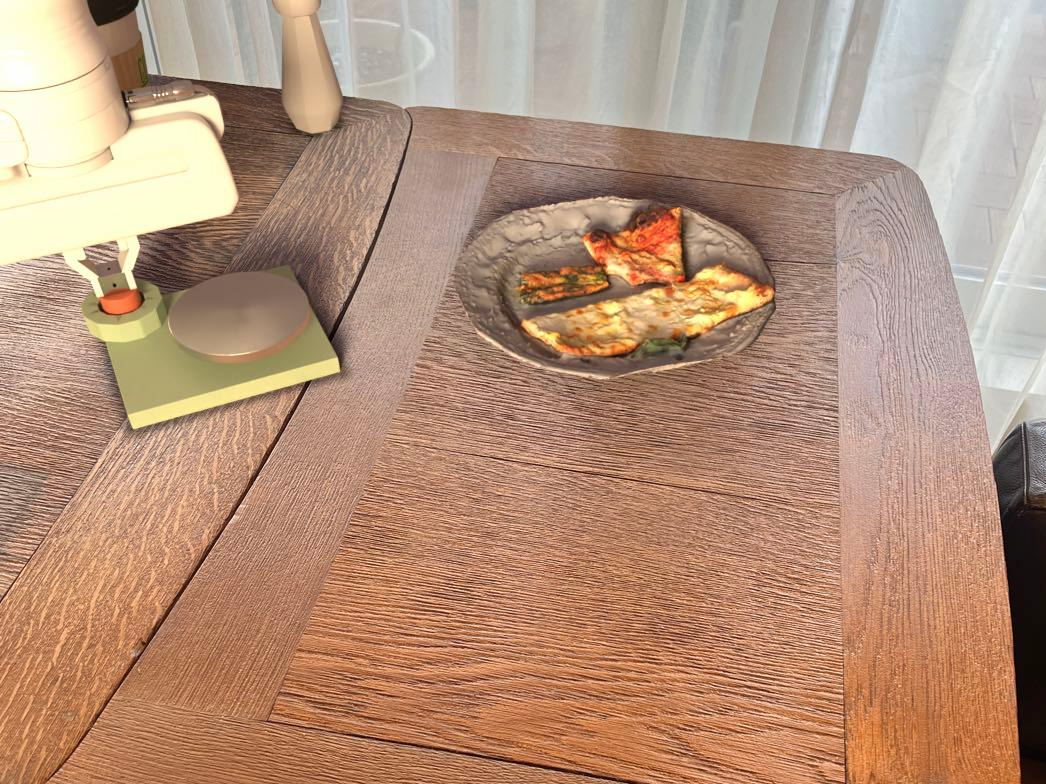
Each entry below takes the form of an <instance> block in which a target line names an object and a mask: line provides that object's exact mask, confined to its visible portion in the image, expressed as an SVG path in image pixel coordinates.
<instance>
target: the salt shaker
mask: <svg viewBox="0 0 1046 784" xmlns="http://www.w3.org/2000/svg"><path fill="white" fill-rule="evenodd" d="M271 3H272V6H273V8H274V10H275V12H276V13H277V14H279V15H282V24H281V25H282V26H281V27H282V28H281V29H282V31H281V33H282V35H281V103H282V106H283V108H284V111H285V113H286V114H287V116H288V117H289V119H290V121H291V122H292V123H293V125H294V127H295V128H296V129H297V130H299V131H302V132H305V133H308V134H311V135H312V134H319V133H323V132H330V131H331V130H332V129H333V128H334V127H336V125H337V124H338V122H339V119H340V115H341V112H342V108H343V105H344V95H343V92H342V89H341V86H340V82H339V80H338V75H337V73H336V70H335V67H334V64H333V61H332V58H331V54H330V51H329V48H328V44H327V42H326V39H325V35H324V33H323V29H322V26H321V22H320V19H319V16H318V11H319V10H320V8H321V6H322V0H271Z"/></svg>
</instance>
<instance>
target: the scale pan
mask: <svg viewBox="0 0 1046 784" xmlns="http://www.w3.org/2000/svg"><path fill="white" fill-rule="evenodd" d="M299 285H300V284H299ZM299 285H297V284H296V283H295V282H293V281H291V280H289V279H287V278H285V277H282V276H279V275H276V274H271V273H265V272H260V271H238V272H230V273H226V274H222V275H218V276H215V277H212V278H209V279H206V280H204V281H201V282H199V283H197V284H196V285H194V286H192V287H191V288H188V289H189V290H188V291H186V292H185V293H184V294H183V295H182V296H180V297H179V298H178V300H177V301H176V302H175V303H174V305H173V306H172V308H171V310H170V313H169V317H168V326H169V330H170V333H171V336H172V338H173V340H174V342H175V344H176V345H177V346H178V347H179V348H180V349H181V350H182V351H183V352H185V353H186V354H188V355H190V356H192V357H194V358H196V359H199V360H203V361H207V362H212V363H221V364H234V363H244V362H251V361H255V360H259V359H263V358H266V357H269V356H271V355H274V354H276V353H278V352H280V351H282V350H284V349H286V348H287V347H289V346H290V345H292V344H293V343H294V342H295V341H297V340H298V339H299V338H300V337H301V336H302V334H303V333H304V332H305V330H306V329H307V327H308V325H309V321H310V316H311V312H310V306H311V305H310V306H309V304H310V301H309V298H308V296H307V293H306V291H304V288H302V287H301V285H300V286H299Z"/></svg>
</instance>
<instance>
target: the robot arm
mask: <svg viewBox="0 0 1046 784" xmlns="http://www.w3.org/2000/svg"><path fill="white" fill-rule="evenodd" d="M195 92H197V93H195ZM127 108H128V109H127ZM225 125H226V124H225V118H224V114H223V110H222V106H221V103H220V100H219V98H218V96H217V95H216V94H215V93H214V92H213V91H212V90H211V89H209V88H208V87H206V86H203V85H200V84H193V82H192V81H191V80H187V79H181V80H176V81H172V82H170V83H167V84H164V85H155V86H154V85H153V86H152V85H150V87H142V88H137V89H130V90H126V91H121V90H120V87H119V84H118V80H117V77H116V74H115V70H114V67H113V64H112V60H111V57H110V54H109V51H108V47H107V44H106V41H105V39H104V36H103V35H102V33H101V31H100V30H99V28H98V27H97V25H96V23H95V22H94V20H93V18H92V16H91V13H90V11H89V7H88V4H87V0H0V267H2V266H7V265H12V264H16V263H17V264H18V263H21V262H25V261H30V260H35V259H38V258H44V257H48V256H52V255H56V254H61V253H62V255H63V258H64V261H65V263H66V265H67V266H69V267H70V268H72V269H73V270H74V271H76V272H77V273H78V274H80V275H81V276H82V277H83V278H84V279H86V280H87V281H90V283H91V285H92V288H93V290H94V291H95V294H96V296H97V298H100V297H105V296H108V295H112V294H116V293H120V292H124V291H128V290H133V289H137V286H136V283H135V280H134V279H135V277H134V274H133V270H134V267H135V265H136V261H137V259H138V256H139V252H140V249H141V245H140V242H139V238H138V236H141V235H145V234H149V233H154V232H159V231H162V230H167V229H171V228H172V229H173V228H176V227H181V226H186V225H190V224H194V223H199V222H204V221H207V220H211V219H216V218H222V217H225V216H229V215H231V214H233V213H234V211H235V209H236V207H237V205H238V203H239V200H240V195H239V191H238V187H237V185H236V181H235V178H234V175H233V172H232V169H231V166H230V164H229V161H228V159H227V156H226V154H225V152H224V150H223V147H222V145H221V143H220V141H221V139H222V137H223V136H224V133H225ZM114 241H116V243H117V246H118V248H119V252H118V256H117V259H115V260H110V261H106V262H101V263H97V264H96V263H94V261H92V260H91V259H90V258H89V257H87V255H86V252H85V250H84V248H88V247H91V246H92V247H93V246H96V245H100V244H105V243H110V242H114ZM127 281H128V282H127Z"/></svg>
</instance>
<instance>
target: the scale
mask: <svg viewBox="0 0 1046 784" xmlns="http://www.w3.org/2000/svg"><path fill="white" fill-rule="evenodd" d="M259 272H265V273H271V274H276V275H279V276H282V277H285V278H287V279H289V280H291V281H293V282H295V283H296V284H297V285H299V286H300V287H301V284H300V283H299V281H298V279H297V277H296V276H295V274H294V272H293V269H292V268H291V267H290V265H289V264H285V265H281V266H276V267H273V268H268V269H264V270H260V271H259ZM134 280H135V283H136V285H137V288H138V291H139V294H140V296H141V299H142V303H143V305H142V306H141V307H140V308H138V309H137V310H135V311H134V312H131V313H127V314H123V315H119V316H117V315H107V314H105V312H104V310H103V307H102V305H101V302H100V299H99V298H97V296H96V294H95V291H94V289H93V290H92V291H90V292H88V294H86V296H85V298H84V299H83V301H82V303H81V304H80V310H81V313H82V317H83V319H84V321H85V324H86V326H87V329H88V331H89V333H90V335H92V337H95V338H97V339H98V340H101V341H103V342H105V345H106V348H107V352H108V356H109V357H110V362H111V365H112V368H113V372H114V375H115V378H116V382H117V386H118V388H119V391H120V395H121V398H122V401H123V405H124V408H125V411H126V415H127V418H128V420H129V423H130V426H131V428H132V429H133V430H136V429H139V428H143V427H146V426H151V425H154V424H157V423H161V422H164V421H169V420H172V419H176V418H180V417H183V416H186V415H190V414H194V413H197V412H201V411H204V410H207V409H211V408H216V407H219V406H222V405H226V404H230V403H232V402H233V403H234V402H236V401H240V400H243V399H248V398H252V397H254V396H258V395H261V394H265V393H268V392H273V391H276V390H279V389H283V388H287V387H291V386H293V385H297V384H300V383H305V382H308V381H312V380H316V379H319V378H323V377H326V376H330V375H333V374H337V373H340V372H341V366H340V361H339V356H338V354H337V353H336V351H335V350H334V349H335V348H334V347H333V345H332V344H331V342H330V339H329V337H328V336H327V334H326V332H325V330H324V329H323V327H322V325H321V323H320V321H319V318H318V317H317V315H316V314H315V311H314V310H313V308H312V306H311V304H310V303H309V306H310V312H311V316H310V321H309V325H308V327H307V329H306V330H305V332H304V333H303V334H302V336H301V337H300V338H299V339H298V340H297V341H295V342H294V343H293V344H292V345H290V346H289V347H287V348H286V349H284V350H282V351H280V352H278V353H276V354H274V355H271V356H269V357H266V358H263V359H259V360H255V361H251V362H244V363H234V364H221V363H212V362H207V361H203V360H199V359H196V358H194V357H192V356H190V355H188V354H186V353H185V352H183V351H182V350H181V349H180V348H179V347H178V346H177V345H176V344H175V342H174V340H173V338H172V336H171V333H170V330H169V326H168V317H169V313H170V310H171V308H172V306H173V305H174V303H175V302H176V301H177V300H178V298H179V297H180V296H182V295H183V294H184V293H185V292H186V291H188V290H189V289H190V288H187V289H182V290H178V291H175V292H170V293H166V294H163V295H162V293H161V290H160V288H159V286H158V285H156V284H153V283H152V282H150V281H148V280H145V279H135V278H134Z"/></svg>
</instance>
